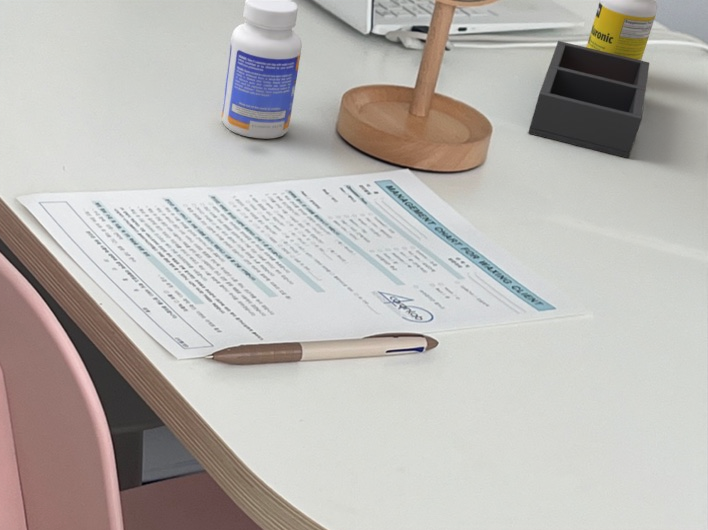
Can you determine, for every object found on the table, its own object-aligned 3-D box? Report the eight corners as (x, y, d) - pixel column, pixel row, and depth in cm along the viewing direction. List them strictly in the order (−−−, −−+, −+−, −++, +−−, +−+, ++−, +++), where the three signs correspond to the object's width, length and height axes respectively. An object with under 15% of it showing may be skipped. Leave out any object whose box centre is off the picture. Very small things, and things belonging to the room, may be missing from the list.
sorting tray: (547, 76, 124) (558, 40, 122) (637, 98, 123) (649, 62, 121) (528, 133, 111) (539, 93, 109) (628, 158, 109) (641, 118, 107)
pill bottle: (299, 139, 102) (322, 14, 96) (238, 142, 100) (257, 15, 94) (268, 111, 106) (288, -10, 100) (208, 114, 103) (225, -10, 98)
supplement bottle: (571, 61, 129) (601, -40, 123) (621, 66, 130) (653, -34, 125) (592, 81, 125) (624, -23, 119) (643, 86, 126) (677, -17, 120)
